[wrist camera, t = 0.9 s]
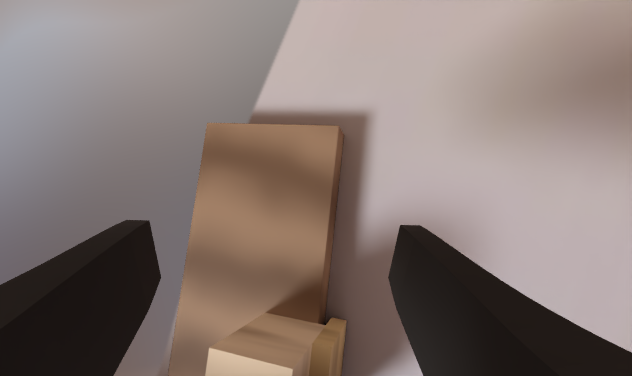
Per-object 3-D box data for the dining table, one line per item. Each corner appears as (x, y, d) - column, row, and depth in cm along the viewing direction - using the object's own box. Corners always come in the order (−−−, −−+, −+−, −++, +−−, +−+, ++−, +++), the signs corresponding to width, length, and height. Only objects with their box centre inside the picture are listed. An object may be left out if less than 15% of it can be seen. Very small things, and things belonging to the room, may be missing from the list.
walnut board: (309, 469, 19) (299, 495, 17) (178, 423, 22) (157, 442, 20) (343, 134, 22) (338, 125, 20) (222, 131, 24) (207, 122, 22)
